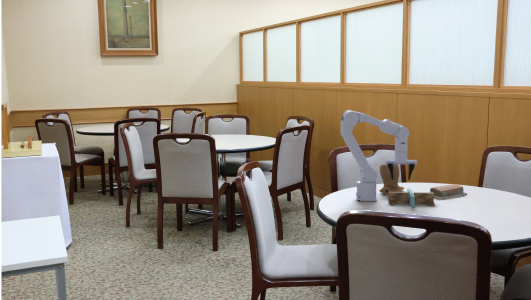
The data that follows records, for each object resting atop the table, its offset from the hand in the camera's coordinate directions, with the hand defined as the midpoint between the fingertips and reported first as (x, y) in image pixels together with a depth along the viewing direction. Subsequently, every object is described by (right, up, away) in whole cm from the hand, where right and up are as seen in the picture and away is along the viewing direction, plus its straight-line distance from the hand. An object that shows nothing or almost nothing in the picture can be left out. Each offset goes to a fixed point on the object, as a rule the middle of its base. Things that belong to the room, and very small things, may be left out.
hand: (400, 179), depth 224 cm
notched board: (+3, -11, -7) cm, 13 cm away
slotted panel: (+3, -11, -7) cm, 13 cm away
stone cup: (-1, -8, +14) cm, 16 cm away
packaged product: (+24, -9, +6) cm, 26 cm away
